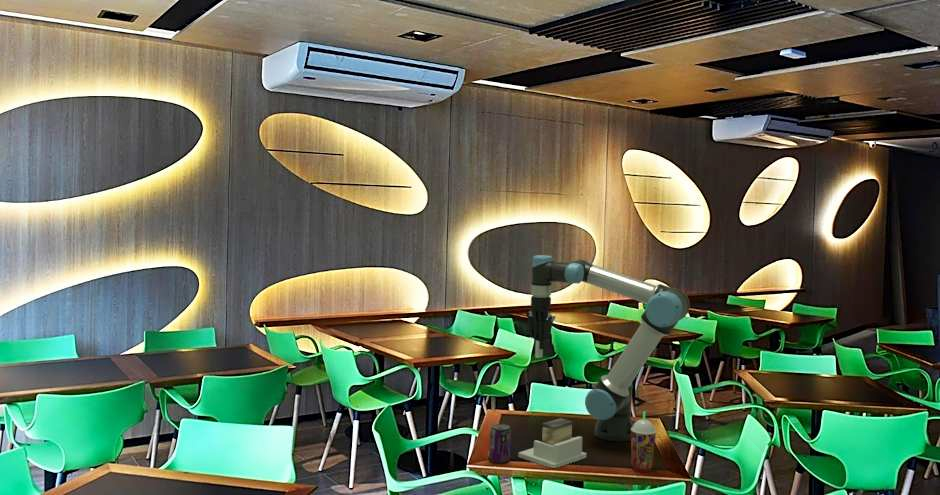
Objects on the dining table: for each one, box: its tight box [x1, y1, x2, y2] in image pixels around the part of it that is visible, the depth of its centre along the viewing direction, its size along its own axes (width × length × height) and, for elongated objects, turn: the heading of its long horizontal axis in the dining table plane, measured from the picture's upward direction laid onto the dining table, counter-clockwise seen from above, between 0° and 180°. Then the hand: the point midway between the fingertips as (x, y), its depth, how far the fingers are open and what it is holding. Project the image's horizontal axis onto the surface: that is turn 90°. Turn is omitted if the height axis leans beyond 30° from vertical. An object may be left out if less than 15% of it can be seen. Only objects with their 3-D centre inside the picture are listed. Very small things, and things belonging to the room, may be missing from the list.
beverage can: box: [489, 423, 512, 464], centre depth 273 cm, size 7×7×12 cm
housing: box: [517, 435, 588, 469], centre depth 278 cm, size 16×18×8 cm
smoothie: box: [630, 410, 657, 473], centre depth 268 cm, size 8×8×20 cm
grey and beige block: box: [541, 417, 574, 446], centre depth 277 cm, size 5×10×11 cm, turn 135°
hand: (538, 357), depth 303 cm, fingers closed
